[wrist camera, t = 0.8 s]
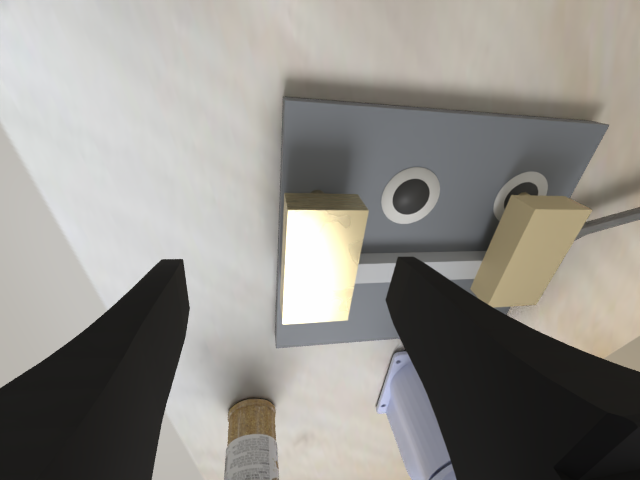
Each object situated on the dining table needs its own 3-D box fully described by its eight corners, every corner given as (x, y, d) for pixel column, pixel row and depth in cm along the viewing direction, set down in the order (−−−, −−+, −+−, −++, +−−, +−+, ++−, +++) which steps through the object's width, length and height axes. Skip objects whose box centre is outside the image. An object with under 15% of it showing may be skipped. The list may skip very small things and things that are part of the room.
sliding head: (336, 287, 22) (347, 320, 20) (278, 290, 21) (282, 324, 19) (352, 186, 18) (368, 210, 16) (282, 184, 17) (287, 209, 15)
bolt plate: (489, 320, 30) (522, 360, 26) (275, 336, 26) (278, 385, 22) (592, 121, 21) (665, 138, 17) (283, 96, 17) (291, 112, 13)
